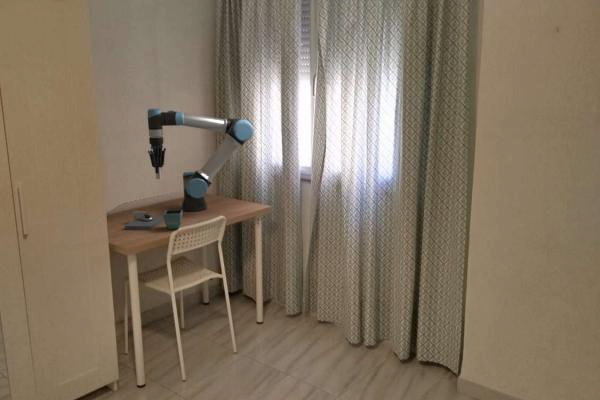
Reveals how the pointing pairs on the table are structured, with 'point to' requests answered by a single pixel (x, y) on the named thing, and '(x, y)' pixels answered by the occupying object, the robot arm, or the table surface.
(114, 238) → the table surface
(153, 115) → the robot arm
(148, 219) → the dial lever
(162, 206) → the table surface
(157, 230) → the table surface
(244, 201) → the table surface
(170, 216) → the flower pot
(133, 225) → the dial plate
